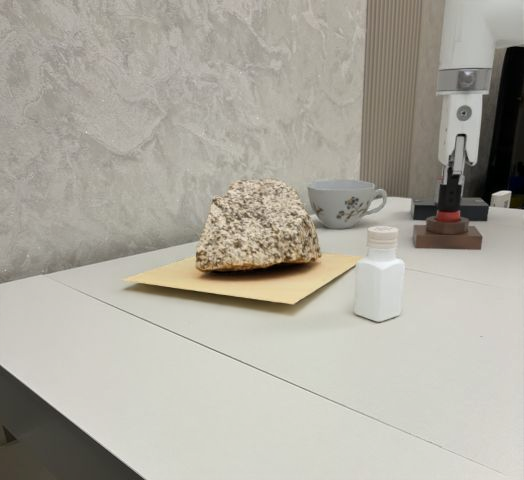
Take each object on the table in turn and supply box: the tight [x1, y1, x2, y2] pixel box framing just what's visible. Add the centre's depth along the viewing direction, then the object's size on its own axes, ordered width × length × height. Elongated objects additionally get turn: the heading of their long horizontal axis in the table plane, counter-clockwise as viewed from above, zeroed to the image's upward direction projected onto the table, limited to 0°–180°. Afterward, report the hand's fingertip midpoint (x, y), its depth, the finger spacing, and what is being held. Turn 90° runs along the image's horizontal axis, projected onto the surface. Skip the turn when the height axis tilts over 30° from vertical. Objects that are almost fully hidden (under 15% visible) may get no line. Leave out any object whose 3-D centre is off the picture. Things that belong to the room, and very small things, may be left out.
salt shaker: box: [353, 225, 406, 323], centre depth 58 cm, size 4×4×10 cm
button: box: [436, 210, 460, 222], centre depth 89 cm, size 4×4×2 cm
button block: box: [412, 216, 484, 251], centre depth 90 cm, size 10×8×4 cm
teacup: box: [306, 178, 388, 230], centre depth 104 cm, size 15×12×8 cm
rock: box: [121, 178, 365, 305], centre depth 76 cm, size 28×22×16 cm
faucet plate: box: [409, 196, 490, 222], centre depth 112 cm, size 14×13×3 cm
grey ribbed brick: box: [434, 175, 466, 204], centre depth 110 cm, size 9×2×5 cm, turn 139°
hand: (447, 210), depth 88 cm, fingers closed
